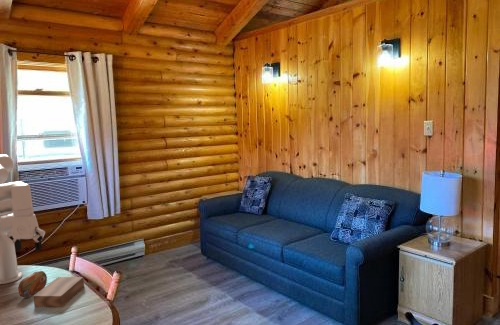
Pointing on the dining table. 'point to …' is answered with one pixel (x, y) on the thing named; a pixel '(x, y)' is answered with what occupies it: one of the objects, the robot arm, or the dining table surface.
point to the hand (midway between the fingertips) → (28, 250)
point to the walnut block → (58, 292)
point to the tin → (32, 284)
